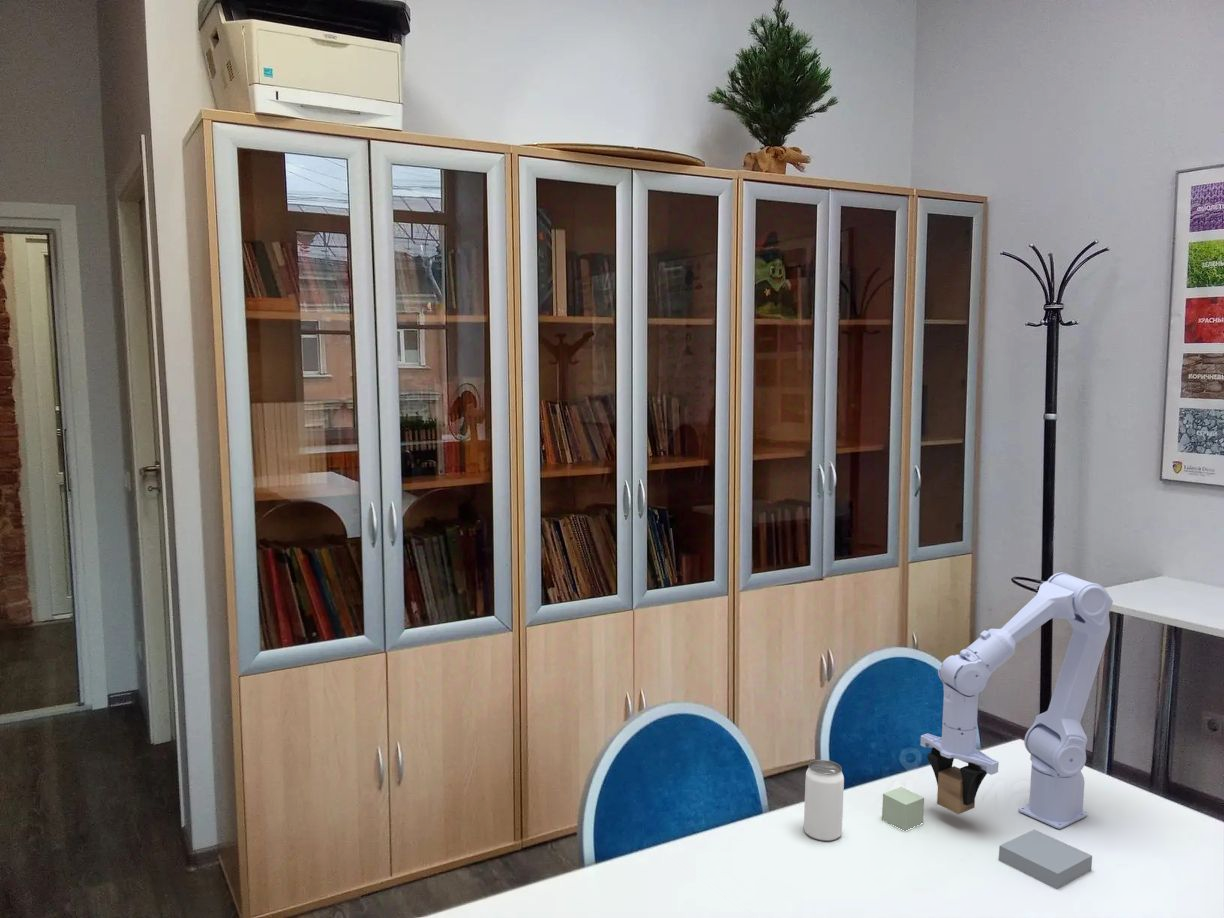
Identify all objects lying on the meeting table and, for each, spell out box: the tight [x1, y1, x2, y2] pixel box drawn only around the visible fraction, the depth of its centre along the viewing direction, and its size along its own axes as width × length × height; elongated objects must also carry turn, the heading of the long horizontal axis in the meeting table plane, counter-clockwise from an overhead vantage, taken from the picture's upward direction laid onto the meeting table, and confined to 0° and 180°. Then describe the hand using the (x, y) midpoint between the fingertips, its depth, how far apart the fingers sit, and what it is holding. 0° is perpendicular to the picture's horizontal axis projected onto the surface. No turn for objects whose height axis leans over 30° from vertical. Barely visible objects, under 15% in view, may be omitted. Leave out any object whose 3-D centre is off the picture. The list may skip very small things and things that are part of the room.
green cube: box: [881, 786, 925, 832], centre depth 162 cm, size 5×5×5 cm
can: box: [803, 759, 845, 842], centre depth 158 cm, size 6×6×12 cm
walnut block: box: [936, 765, 976, 815], centre depth 162 cm, size 4×4×6 cm
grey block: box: [998, 829, 1093, 890], centre depth 149 cm, size 10×10×3 cm
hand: (956, 797), depth 162 cm, fingers closed on walnut block, 4 cm apart
